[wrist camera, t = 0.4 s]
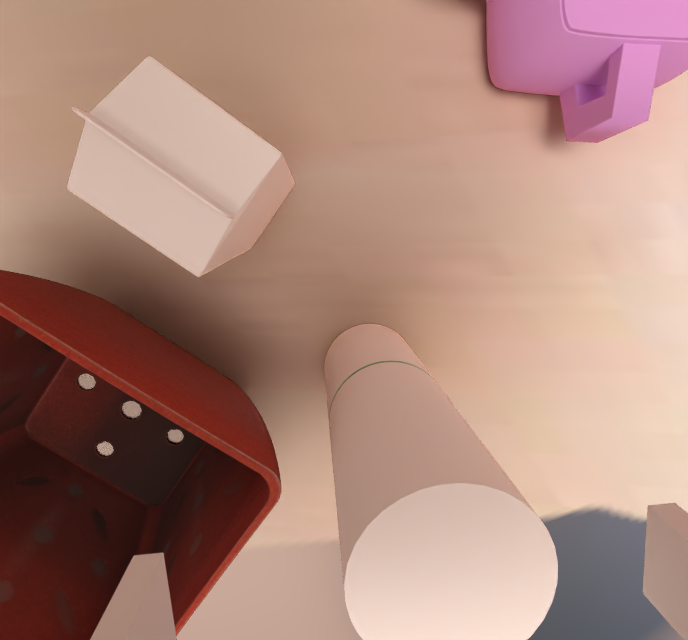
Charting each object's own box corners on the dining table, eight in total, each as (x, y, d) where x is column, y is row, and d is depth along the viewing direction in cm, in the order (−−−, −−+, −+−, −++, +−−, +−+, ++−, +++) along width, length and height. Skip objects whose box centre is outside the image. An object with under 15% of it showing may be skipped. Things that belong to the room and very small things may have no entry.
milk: (251, 249, 39) (179, 295, 18) (181, 201, 38) (16, 188, 17) (297, 181, 39) (280, 144, 17) (227, 130, 38) (115, 22, 16)
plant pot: (-43, 438, 41) (-283, 589, 24) (84, 236, 38) (-86, 251, 22) (169, 557, 44) (85, 762, 27) (299, 377, 41) (292, 483, 25)
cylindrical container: (341, 421, 42) (384, 702, 18) (311, 341, 41) (312, 528, 16) (424, 392, 42) (580, 633, 18) (397, 310, 41) (526, 452, 16)
